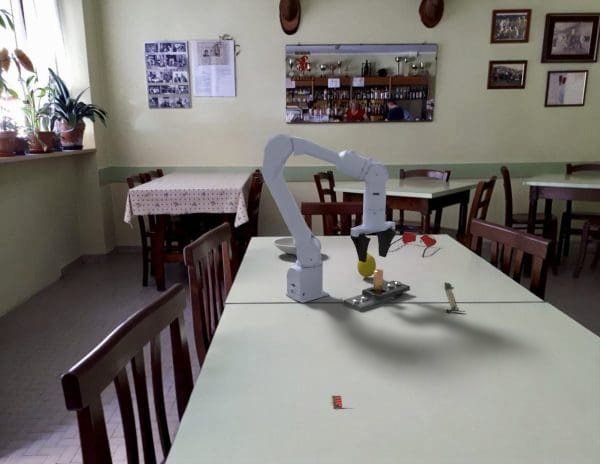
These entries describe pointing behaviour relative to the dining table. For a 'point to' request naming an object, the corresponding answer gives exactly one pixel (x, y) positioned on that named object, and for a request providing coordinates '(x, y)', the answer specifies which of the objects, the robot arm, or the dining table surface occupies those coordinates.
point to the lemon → (367, 266)
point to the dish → (286, 245)
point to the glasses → (412, 237)
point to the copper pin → (378, 281)
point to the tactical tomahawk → (451, 300)
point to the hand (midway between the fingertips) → (372, 258)
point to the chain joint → (376, 296)
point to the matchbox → (336, 401)
